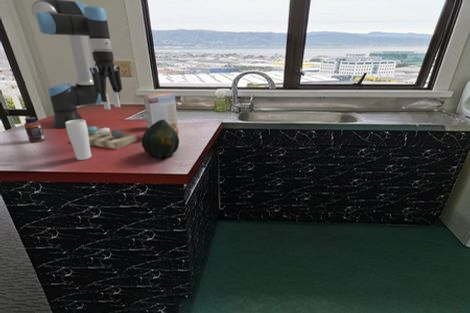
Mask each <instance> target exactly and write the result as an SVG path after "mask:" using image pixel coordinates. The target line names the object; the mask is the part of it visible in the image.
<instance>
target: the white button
mask: <svg viewBox="0 0 470 313" xmlns="http://www.w3.org/2000/svg"><path fill="white" fill-rule="evenodd" d="M97 129H98V133H99V135H106V134H110V132H111V130H110V127H103V128H102V127H101V128H97Z"/></svg>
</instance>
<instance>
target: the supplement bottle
mask: <svg viewBox="0 0 470 313" xmlns="http://www.w3.org/2000/svg"><path fill="white" fill-rule="evenodd" d="M24 120H25V123H23V126H24V128H25V131H26V134H27V138H28V141H29V142H30V143H40V142H43V141H45V140H46V139H45V135H44V132H43V129H42V125H41V122H39V121H37V118H36V117H34V116H32V117H31V116H30V117H25V118H24Z"/></svg>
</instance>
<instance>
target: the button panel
mask: <svg viewBox="0 0 470 313" xmlns="http://www.w3.org/2000/svg"><path fill="white" fill-rule="evenodd" d="M123 134H124V135H122V136H118V137H113V136H112V134H111V131H110V134H106V135H99V133H98V131H97V132H95V133H88V135H89V143H90V146H94V147H95V146H97V147H103V148H107V149H108V148H109V149H114V150H119V149H121V148H124V147H126V146H129V145H131V144H134V143H136V142H137V141H138V140H137V135H136V134H130V133H123Z"/></svg>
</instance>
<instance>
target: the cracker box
mask: <svg viewBox="0 0 470 313" xmlns="http://www.w3.org/2000/svg"><path fill="white" fill-rule="evenodd" d="M175 95H176V94H175V93H172V92H167V93H158V94H157V93H156V94H147V95H143V103H144V110H145V115H146V123H147V129H148V128H149V127H150V126H152V125H153V124H154V123H156V122H157V121H159V120H163V119H164V120H165V121H166V122H167V123H168V124H169V125H170V126H171V127H172V128H173V129H174V130H175V131H176V133H177V135H179V127H178V126H179V123H178V115H177V114H178V113H177V112H178V111H177V107H176V96H175Z"/></svg>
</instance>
